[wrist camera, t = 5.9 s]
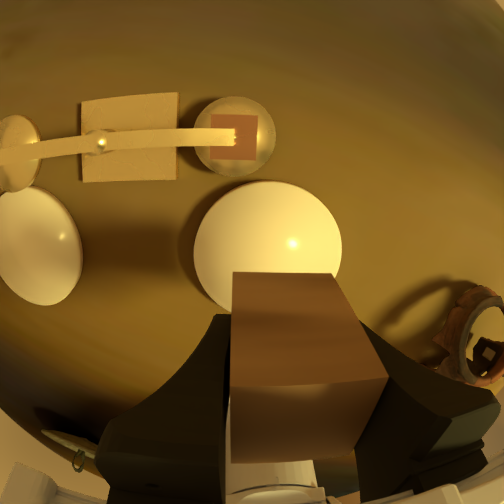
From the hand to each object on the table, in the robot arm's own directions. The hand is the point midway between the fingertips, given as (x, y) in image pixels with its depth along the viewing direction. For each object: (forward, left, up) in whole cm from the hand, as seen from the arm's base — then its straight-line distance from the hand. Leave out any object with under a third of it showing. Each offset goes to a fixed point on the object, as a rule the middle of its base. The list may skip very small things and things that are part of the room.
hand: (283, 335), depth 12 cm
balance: (+7, +8, -8) cm, 14 cm away
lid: (-25, +20, -9) cm, 33 cm away
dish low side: (0, 0, -8) cm, 8 cm away
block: (0, 0, -1) cm, 1 cm away
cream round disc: (0, +17, -8) cm, 19 cm away
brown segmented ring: (-7, -19, -9) cm, 22 cm away
